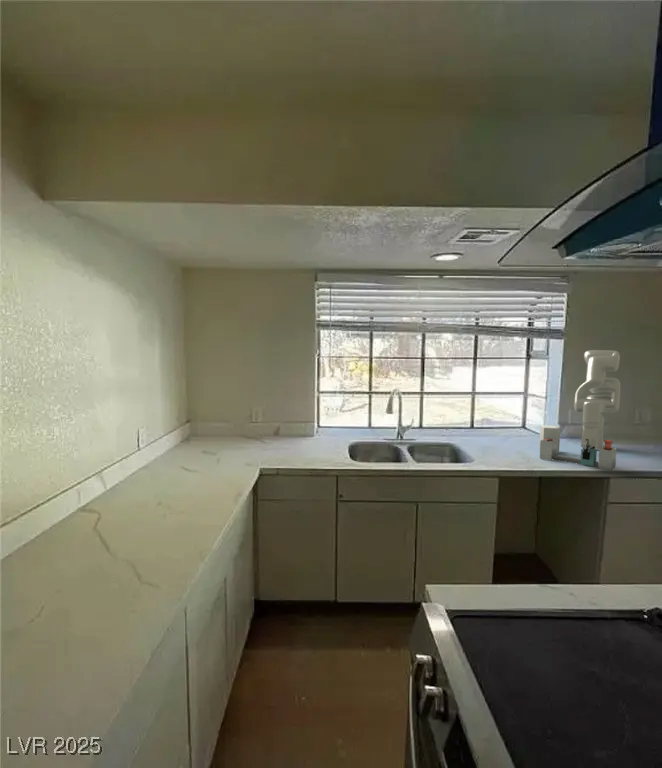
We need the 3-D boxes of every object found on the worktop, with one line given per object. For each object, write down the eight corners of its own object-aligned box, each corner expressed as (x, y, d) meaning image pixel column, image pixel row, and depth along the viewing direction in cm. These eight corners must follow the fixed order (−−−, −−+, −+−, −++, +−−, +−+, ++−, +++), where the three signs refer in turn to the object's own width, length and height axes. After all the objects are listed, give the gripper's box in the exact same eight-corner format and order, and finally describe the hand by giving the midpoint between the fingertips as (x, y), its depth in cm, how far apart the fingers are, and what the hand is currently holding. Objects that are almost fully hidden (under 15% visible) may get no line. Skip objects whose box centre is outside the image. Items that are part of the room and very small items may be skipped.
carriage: (583, 462, 246) (584, 447, 245) (595, 464, 242) (596, 449, 241) (580, 463, 243) (581, 449, 242) (593, 466, 239) (594, 451, 238)
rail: (554, 458, 255) (554, 454, 255) (600, 466, 240) (601, 462, 240) (552, 459, 253) (552, 455, 253) (599, 467, 238) (599, 463, 237)
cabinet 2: (602, 465, 242) (603, 446, 241) (615, 467, 238) (616, 448, 237) (598, 468, 236) (599, 449, 235) (611, 470, 232) (612, 451, 231)
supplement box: (559, 454, 264) (560, 428, 262) (542, 453, 265) (543, 427, 264) (555, 450, 272) (556, 425, 271) (538, 449, 274) (540, 424, 273)
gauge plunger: (604, 448, 239) (604, 439, 238) (613, 449, 236) (613, 440, 235) (602, 449, 236) (602, 440, 235) (611, 450, 233) (612, 441, 232)
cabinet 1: (544, 455, 261) (545, 436, 260) (556, 457, 257) (557, 438, 256) (539, 458, 255) (540, 439, 254) (551, 460, 251) (552, 441, 250)
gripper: (587, 421, 249) (585, 453, 251) (577, 426, 237) (575, 459, 238) (603, 423, 244) (601, 455, 246) (594, 428, 231) (592, 462, 233)
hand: (588, 457), depth 242 cm, fingers open, 9 cm apart
